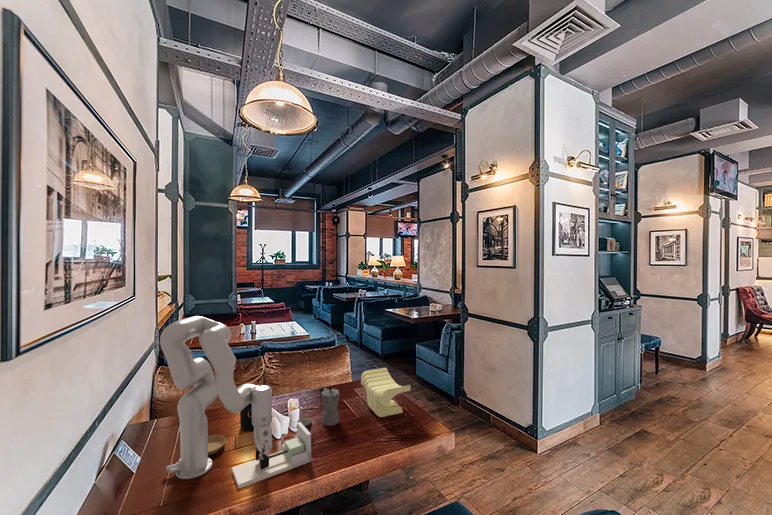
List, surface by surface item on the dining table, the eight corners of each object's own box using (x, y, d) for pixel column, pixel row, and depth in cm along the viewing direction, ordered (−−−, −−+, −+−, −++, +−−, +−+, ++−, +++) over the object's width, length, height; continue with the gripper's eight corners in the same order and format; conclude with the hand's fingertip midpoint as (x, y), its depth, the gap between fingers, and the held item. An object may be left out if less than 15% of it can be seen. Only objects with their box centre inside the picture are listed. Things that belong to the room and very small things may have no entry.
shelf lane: (238, 488, 123) (238, 457, 123) (232, 471, 133) (231, 442, 133) (311, 461, 139) (311, 433, 139) (300, 447, 149) (300, 422, 149)
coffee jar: (247, 434, 160) (247, 396, 160) (235, 427, 166) (235, 391, 166) (267, 425, 168) (267, 389, 168) (255, 419, 175) (255, 384, 175)
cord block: (262, 471, 130) (262, 458, 130) (257, 462, 136) (257, 450, 136) (304, 456, 140) (304, 444, 140) (298, 448, 145) (298, 436, 145)
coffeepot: (345, 422, 171) (345, 387, 171) (330, 429, 164) (330, 392, 164) (328, 412, 182) (328, 379, 182) (313, 418, 175) (313, 384, 175)
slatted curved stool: (361, 401, 195) (361, 371, 195) (386, 397, 202) (386, 367, 202) (382, 425, 168) (382, 390, 168) (410, 419, 174) (410, 385, 174)
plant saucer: (183, 462, 138) (183, 455, 138) (193, 443, 152) (193, 437, 152) (222, 456, 142) (222, 450, 142) (228, 438, 156) (228, 433, 156)
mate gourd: (305, 430, 164) (305, 399, 163) (316, 436, 158) (316, 404, 158) (292, 436, 158) (292, 405, 158) (303, 442, 153) (303, 410, 153)
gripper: (278, 424, 128) (278, 471, 129) (265, 407, 143) (265, 450, 143) (257, 430, 124) (258, 478, 124) (246, 412, 138) (247, 456, 138)
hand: (262, 463), depth 133 cm, fingers open, 6 cm apart
